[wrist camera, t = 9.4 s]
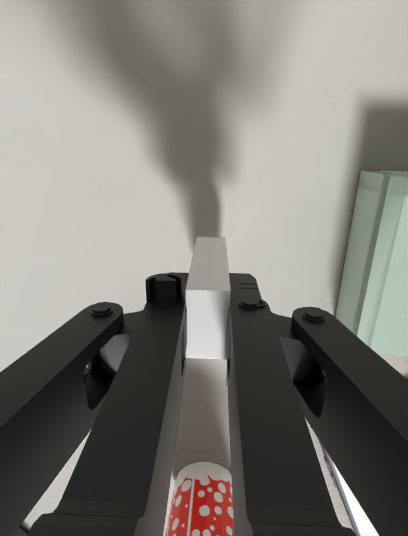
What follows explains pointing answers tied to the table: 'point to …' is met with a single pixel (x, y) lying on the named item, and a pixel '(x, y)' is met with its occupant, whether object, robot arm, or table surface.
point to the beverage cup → (202, 502)
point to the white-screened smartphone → (350, 501)
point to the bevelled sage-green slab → (378, 264)
